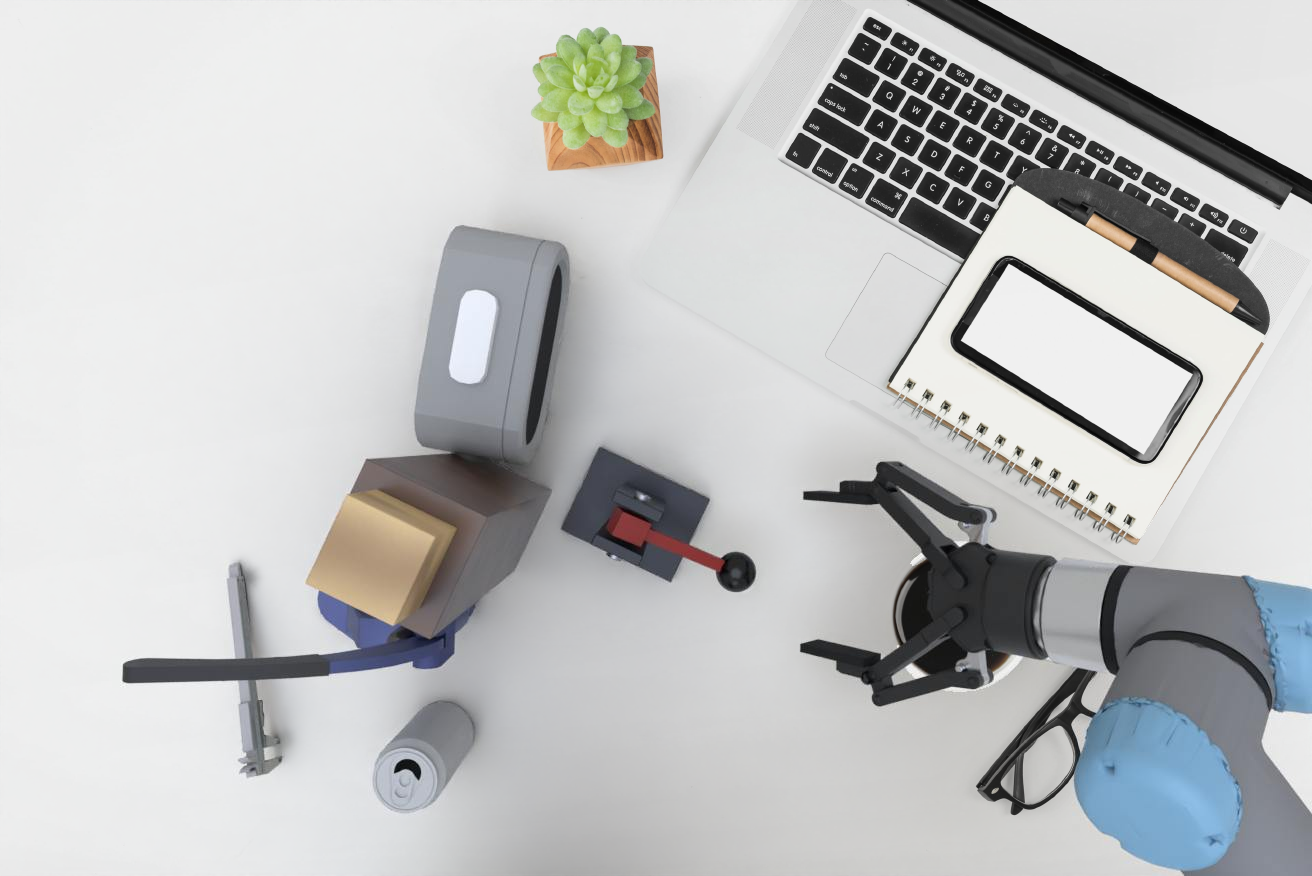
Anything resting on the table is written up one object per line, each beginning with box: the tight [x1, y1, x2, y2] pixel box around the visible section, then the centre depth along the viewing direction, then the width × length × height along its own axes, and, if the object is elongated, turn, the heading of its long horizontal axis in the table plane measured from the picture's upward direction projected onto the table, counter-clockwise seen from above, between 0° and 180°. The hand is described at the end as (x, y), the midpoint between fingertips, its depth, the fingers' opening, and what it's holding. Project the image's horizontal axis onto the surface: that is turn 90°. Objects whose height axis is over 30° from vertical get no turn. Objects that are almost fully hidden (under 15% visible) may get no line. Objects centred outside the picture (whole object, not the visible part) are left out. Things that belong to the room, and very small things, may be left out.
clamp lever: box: [606, 506, 757, 593], centre depth 72 cm, size 14×4×4 cm, turn 65°
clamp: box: [121, 590, 476, 684], centre depth 69 cm, size 19×9×28 cm, turn 88°
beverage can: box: [372, 701, 475, 814], centre depth 77 cm, size 6×6×12 cm
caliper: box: [226, 562, 283, 779], centre depth 80 cm, size 20×1×6 cm, turn 13°
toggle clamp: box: [560, 446, 711, 583], centre depth 75 cm, size 12×9×14 cm
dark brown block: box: [349, 452, 553, 639], centre depth 69 cm, size 9×9×28 cm
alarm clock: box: [413, 224, 571, 466], centre depth 76 cm, size 21×10×13 cm, turn 170°
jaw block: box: [305, 489, 457, 626], centre depth 52 cm, size 6×6×5 cm
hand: (810, 570), depth 75 cm, fingers open, 13 cm apart
